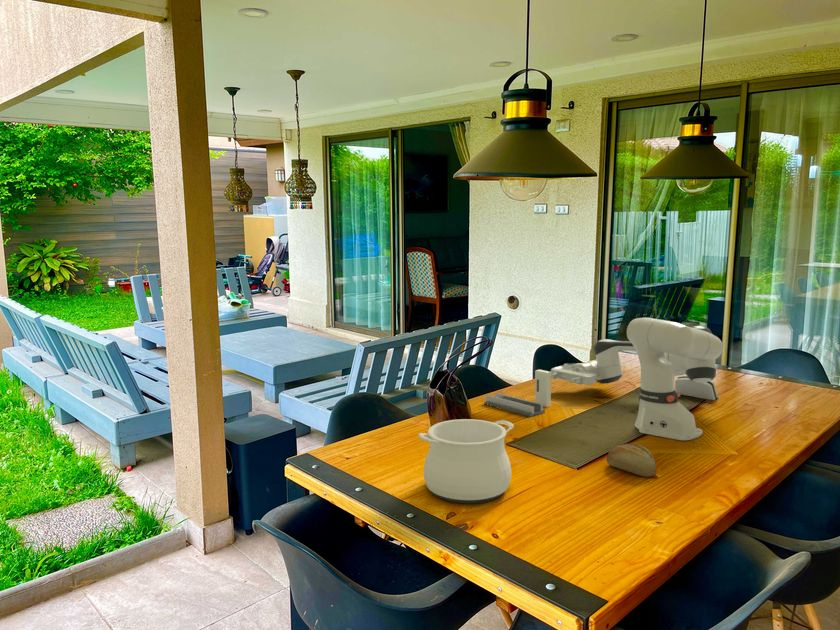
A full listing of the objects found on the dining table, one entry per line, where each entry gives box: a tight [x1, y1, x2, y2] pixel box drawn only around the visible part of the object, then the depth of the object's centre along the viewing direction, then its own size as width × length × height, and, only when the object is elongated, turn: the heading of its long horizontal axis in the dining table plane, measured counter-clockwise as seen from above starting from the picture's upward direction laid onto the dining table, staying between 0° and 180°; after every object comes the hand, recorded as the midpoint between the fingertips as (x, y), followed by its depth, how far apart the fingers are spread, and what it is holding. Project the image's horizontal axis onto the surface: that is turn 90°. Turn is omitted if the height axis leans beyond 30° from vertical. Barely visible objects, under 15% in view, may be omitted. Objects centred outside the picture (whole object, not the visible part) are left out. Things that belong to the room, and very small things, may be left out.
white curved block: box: [674, 374, 719, 401], centre depth 270 cm, size 17×5×10 cm, turn 44°
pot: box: [417, 418, 515, 505], centre depth 180 cm, size 28×24×17 cm
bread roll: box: [606, 442, 657, 478], centre depth 192 cm, size 10×15×8 cm, turn 46°
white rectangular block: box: [534, 369, 552, 408], centre depth 261 cm, size 6×3×14 cm, turn 41°
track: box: [483, 392, 546, 418], centre depth 258 cm, size 24×9×4 cm, turn 41°
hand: (561, 378), depth 269 cm, fingers open, 8 cm apart
